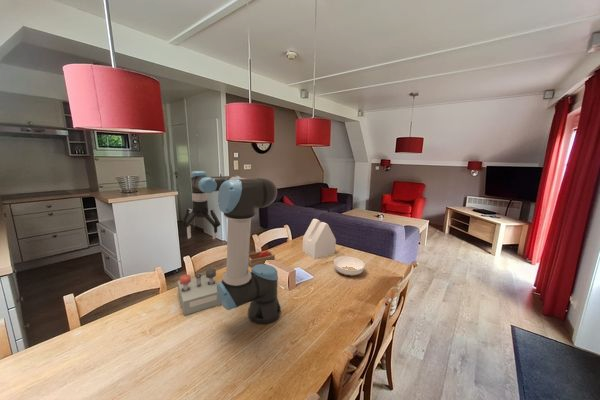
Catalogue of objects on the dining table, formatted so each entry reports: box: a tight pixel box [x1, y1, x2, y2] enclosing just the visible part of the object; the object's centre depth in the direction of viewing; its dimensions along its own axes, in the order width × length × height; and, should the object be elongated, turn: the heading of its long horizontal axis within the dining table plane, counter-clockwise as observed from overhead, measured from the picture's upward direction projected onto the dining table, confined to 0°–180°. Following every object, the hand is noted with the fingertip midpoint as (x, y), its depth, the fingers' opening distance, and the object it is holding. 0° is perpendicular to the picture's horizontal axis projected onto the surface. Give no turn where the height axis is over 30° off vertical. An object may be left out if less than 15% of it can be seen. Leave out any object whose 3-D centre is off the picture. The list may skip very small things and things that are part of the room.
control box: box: [177, 274, 222, 316], centre depth 122 cm, size 20×17×7 cm
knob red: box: [179, 274, 192, 291], centre depth 118 cm, size 5×5×9 cm
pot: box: [195, 273, 202, 287], centre depth 121 cm, size 3×3×6 cm
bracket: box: [259, 251, 270, 258], centre depth 164 cm, size 12×4×8 cm, turn 114°
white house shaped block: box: [302, 218, 337, 260], centre depth 181 cm, size 19×15×25 cm
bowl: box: [333, 255, 366, 277], centre depth 156 cm, size 20×20×6 cm
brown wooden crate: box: [248, 249, 276, 269], centre depth 164 cm, size 10×17×5 cm, turn 123°
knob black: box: [205, 268, 217, 285], centre depth 124 cm, size 5×5×9 cm
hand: (201, 238), depth 133 cm, fingers open, 13 cm apart
